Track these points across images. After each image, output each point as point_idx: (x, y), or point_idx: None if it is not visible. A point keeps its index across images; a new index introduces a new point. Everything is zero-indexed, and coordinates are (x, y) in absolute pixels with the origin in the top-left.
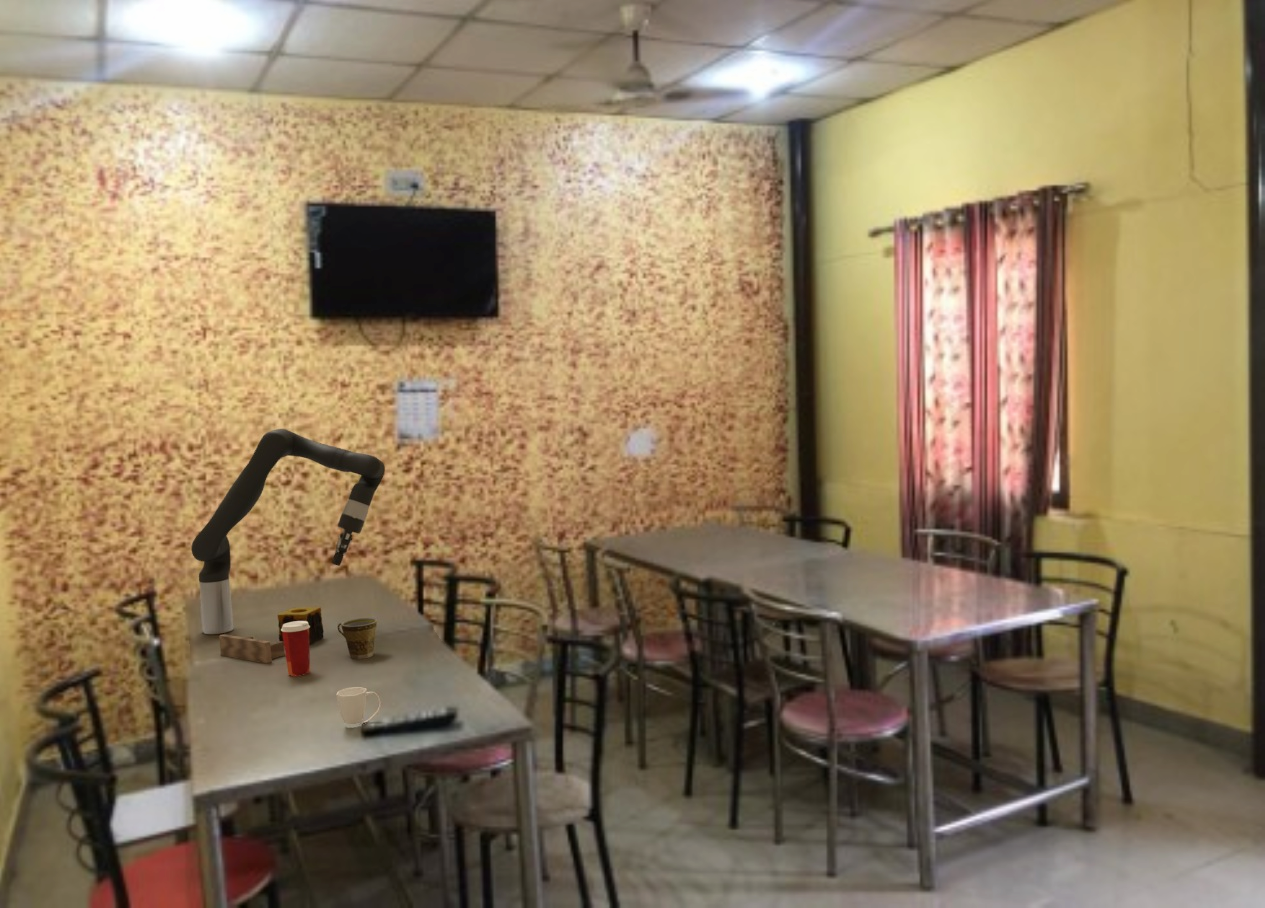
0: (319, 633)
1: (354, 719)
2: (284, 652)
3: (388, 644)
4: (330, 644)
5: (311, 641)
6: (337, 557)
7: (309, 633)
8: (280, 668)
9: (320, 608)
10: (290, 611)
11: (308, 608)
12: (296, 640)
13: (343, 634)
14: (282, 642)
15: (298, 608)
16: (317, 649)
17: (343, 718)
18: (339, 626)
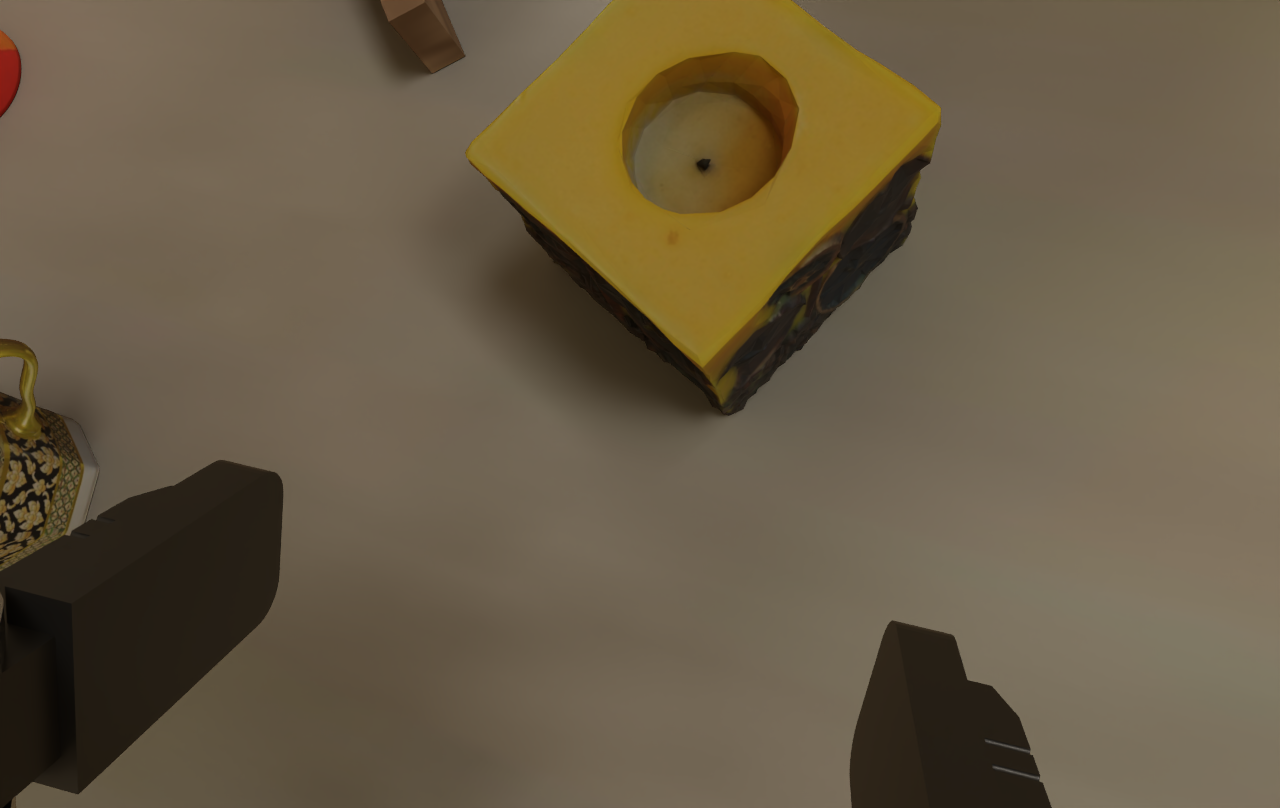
0: (683, 368)
1: None
2: (423, 62)
3: (155, 747)
4: (477, 403)
5: (576, 280)
6: (52, 557)
7: (551, 248)
8: (146, 6)
9: (692, 361)
10: (752, 53)
11: (748, 240)
12: None
13: (20, 383)
14: (387, 13)
15: (843, 149)
16: (408, 289)
17: None
18: (4, 354)
